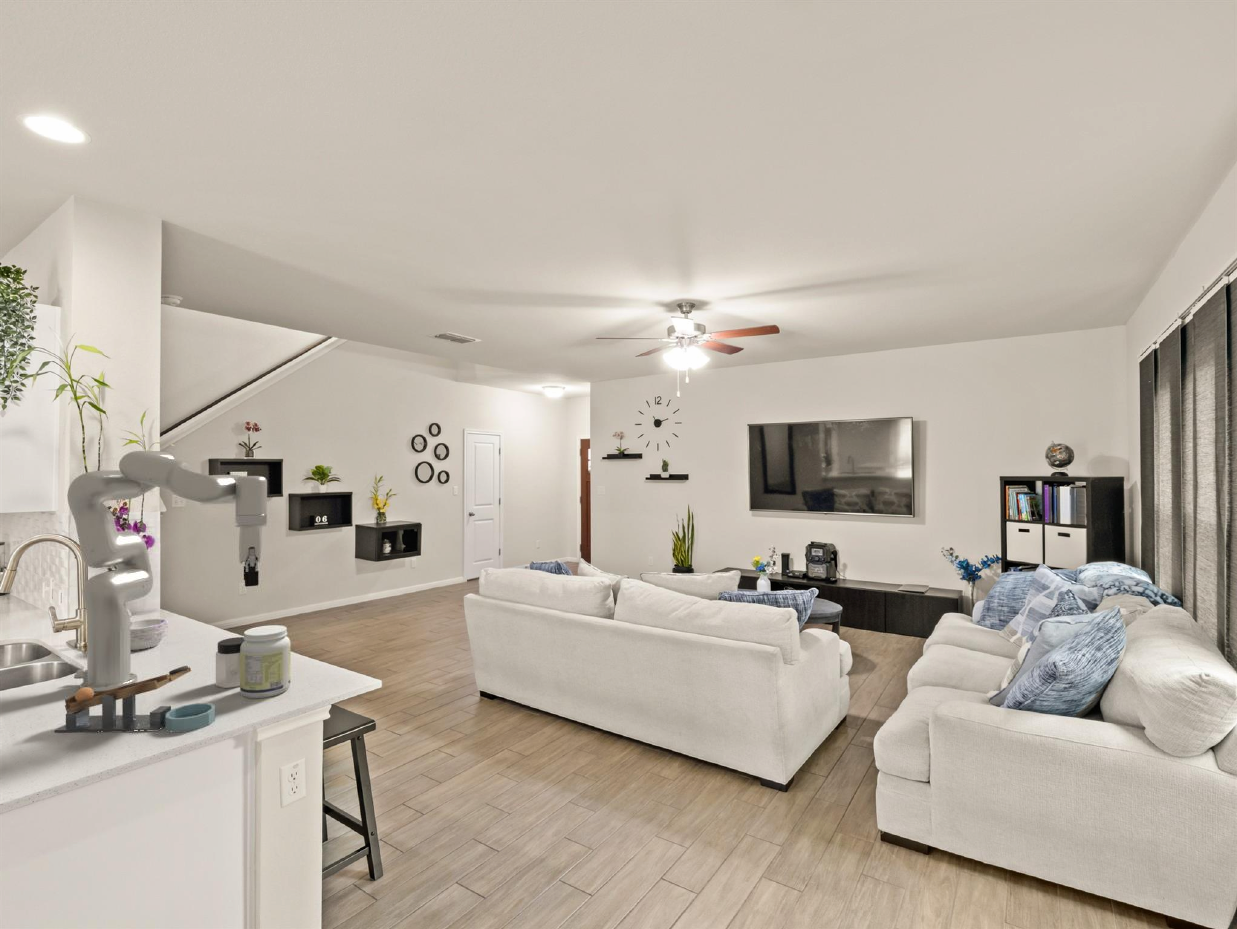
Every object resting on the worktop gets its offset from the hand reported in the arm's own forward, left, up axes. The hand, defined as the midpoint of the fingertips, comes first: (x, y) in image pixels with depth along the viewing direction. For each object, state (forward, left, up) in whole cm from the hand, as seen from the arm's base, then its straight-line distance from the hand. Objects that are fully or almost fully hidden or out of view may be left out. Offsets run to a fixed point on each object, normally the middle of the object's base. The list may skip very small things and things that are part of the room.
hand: (250, 582), depth 177 cm
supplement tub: (+5, -2, -30) cm, 30 cm away
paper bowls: (-57, +42, -30) cm, 77 cm away
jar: (-7, +5, -30) cm, 31 cm away
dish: (-3, -23, -30) cm, 37 cm away
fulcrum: (-19, -23, -30) cm, 42 cm away
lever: (-19, -19, -23) cm, 35 cm away
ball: (-27, -23, -22) cm, 42 cm away
